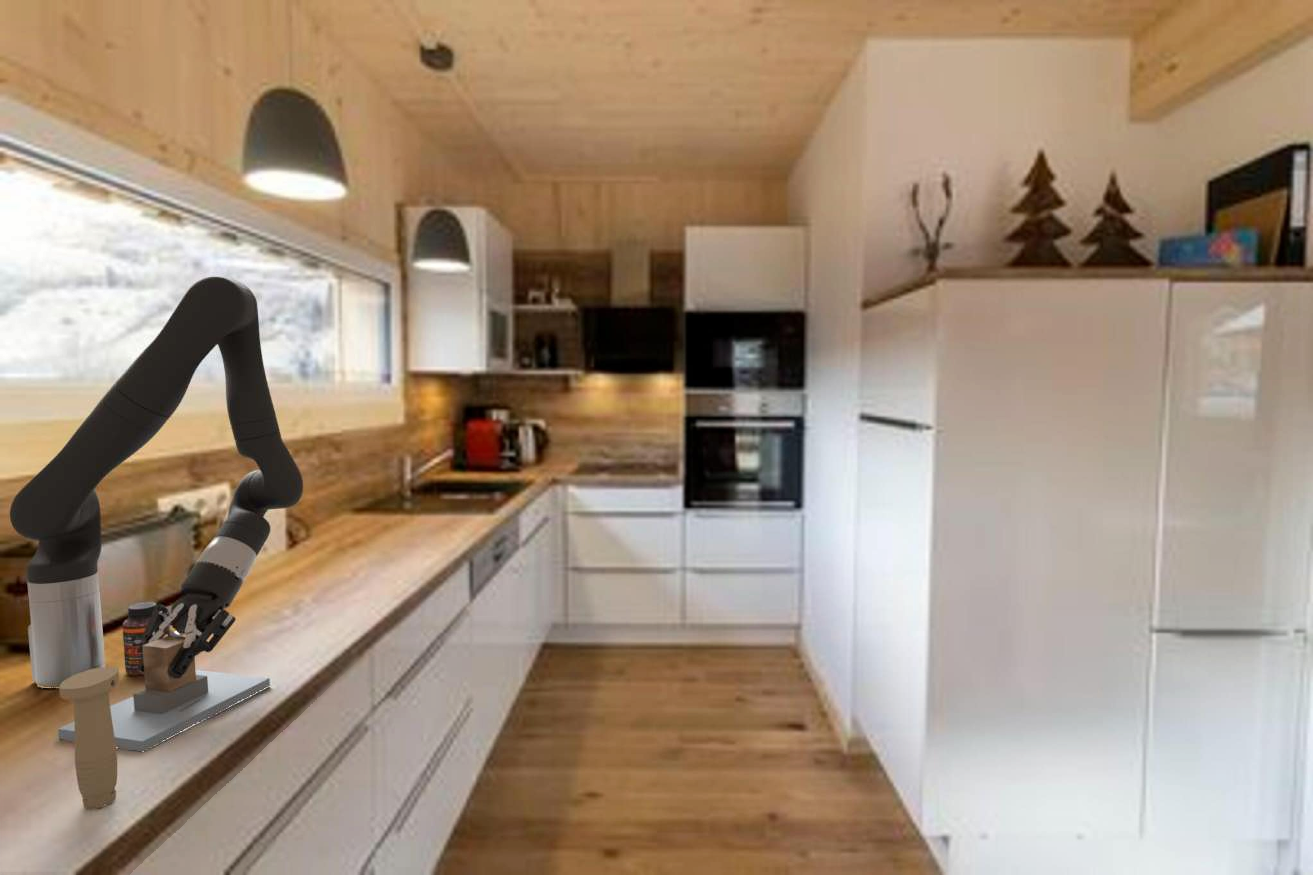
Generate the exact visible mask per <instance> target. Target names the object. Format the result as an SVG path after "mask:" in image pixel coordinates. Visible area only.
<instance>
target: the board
mask: <svg viewBox="0 0 1313 875" xmlns="http://www.w3.org/2000/svg"><path fill="white" fill-rule="evenodd" d="M195 670H196V675H203V676H207V679H208V692H207V693H205V694H203V695H201V696H199V697H197V698H195V699H193V700H190V701H188V702H186V703H184V704H182V705H180V706H178V707H176V708H174V709H171V710H169V711H167V712H165V713H163V714H156V713H149V712H141V711H134V698H133V696H131V697H129V698H126V699H124V700H122V701H119V702H116V703H114V704H112V705H110V710H111V717H112V724H113V730H114V736H115V742H116V747H118V748H117V749H119V748H122V749H121V750H125V749H129V750H128V751H132V750H137V751H136V752H138V751H145V750H147V749H149V750H151V749H150V747H153V746H154V745H156V744H158V743H160V742H162V741H163V740H166V739H167V738H169V737H171V736H173V735H175V734H177V733H179V732H180V731H183V730H184V729H186V728H188V727H190V726H192V725H193V724H196V723H197V722H201V721H202V720H204V719H207V718H208V717H211V716H213V715H215V714H216V713H219V712H220V711H222V710H224V709H226V708H228V707H229V706H231V705H233V704H235V703H237V702H238V701H241V700H242V699H245V698H247V697H249V696H250V695H253V694H255V693H256V692H259V691H260V690H263V689H264V688H266V687H268V686H270V687H271V682H270V679H271V678H270V677H264V676H263V677H262V676H254V675H246V674H237V673H228V672H219V671H210V670H209V671H208V670H199V669H195ZM219 714H220V713H219ZM215 716H216V715H215ZM213 717H214V716H213ZM211 718H212V717H211ZM207 720H208V719H207ZM201 723H202V722H201ZM57 730H58V739H59V740H60V739H63V740H62V741H66V740H68V741H69V742H74V743H75V721H73V722H71V723H69V724H66V725H64V726H62V727H59V728H58V729H57ZM68 741H67V742H68ZM166 741H167V740H166ZM162 743H163V742H162ZM153 748H154V747H153ZM147 751H148V750H147ZM145 752H146V751H145Z"/></svg>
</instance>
